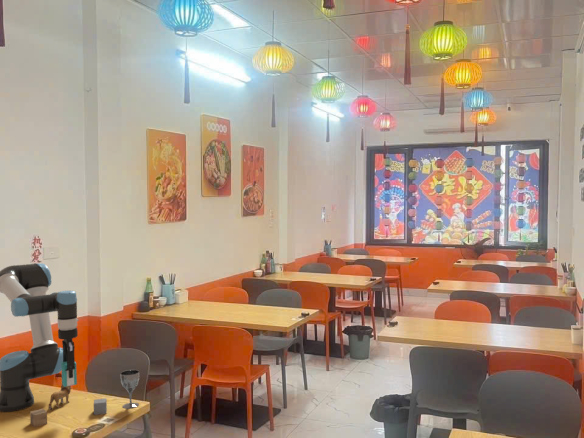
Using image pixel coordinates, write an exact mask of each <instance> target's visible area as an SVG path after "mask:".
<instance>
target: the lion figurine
mask: <svg viewBox="0 0 584 438" xmlns="http://www.w3.org/2000/svg"><path fill="white" fill-rule="evenodd" d="M71 387H72V385H71V386H66V387H64V386H63V384H62V383H61V385H60V390H59V391H55V392H53V393H52V394H51V395H50V399H49V400H50V401H49V403H48V405H47V407H48V410H50V411H53V408H52V407H53V406H52V403H53V402H55V406H56V407H57V408H58V409H59V408H60V409H61V408H62V405H60V404H59V403H61V404H63V403H64V398H65V399H66V400H65V403H66V404H68V403H70V401H69V397H70V396H69V395H70V394H71V392H72V391H71V389H72V388H71ZM59 401H60V402H59Z"/></svg>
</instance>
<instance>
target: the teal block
mask: <svg viewBox="0 0 584 438" xmlns="http://www.w3.org/2000/svg"><path fill="white" fill-rule="evenodd" d="M61 367H62V370H61V385H62V384H63V386H64V387H66V386H67V371H65V369H67V361H66V362H61ZM77 372H78V371H77V362H76V361H75V369H74V385H73V386H76V385H77V384H78V379H77ZM70 386H71V387H72V385H70Z"/></svg>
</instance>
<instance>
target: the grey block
mask: <svg viewBox="0 0 584 438" xmlns="http://www.w3.org/2000/svg"><path fill="white" fill-rule="evenodd" d="M107 399H108V398H106V397H105V398H98V399H96V398H95V399H94V400H93V415H94V416H99V415H106V414H107V411H108V407H107V405H108V404H107V401H108V400H107Z"/></svg>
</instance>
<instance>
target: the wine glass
mask: <svg viewBox="0 0 584 438" xmlns="http://www.w3.org/2000/svg"><path fill="white" fill-rule="evenodd" d="M139 380H140V371H139V370H138V369H126V370H123V371H121V372H120V383H121V385H122V388H124V389H125V390H126V391H127V394H128V395H129V396H128V397H129V402H128V403H125V404H123V405H122V407H121V408H123V409H125V410H130V409H136V408H138V407H139V406H140V404H139V403H138V402H132V398H133V397H132V395H133V391H134V390H135V389H136V388H137V386H138V385H139Z"/></svg>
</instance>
